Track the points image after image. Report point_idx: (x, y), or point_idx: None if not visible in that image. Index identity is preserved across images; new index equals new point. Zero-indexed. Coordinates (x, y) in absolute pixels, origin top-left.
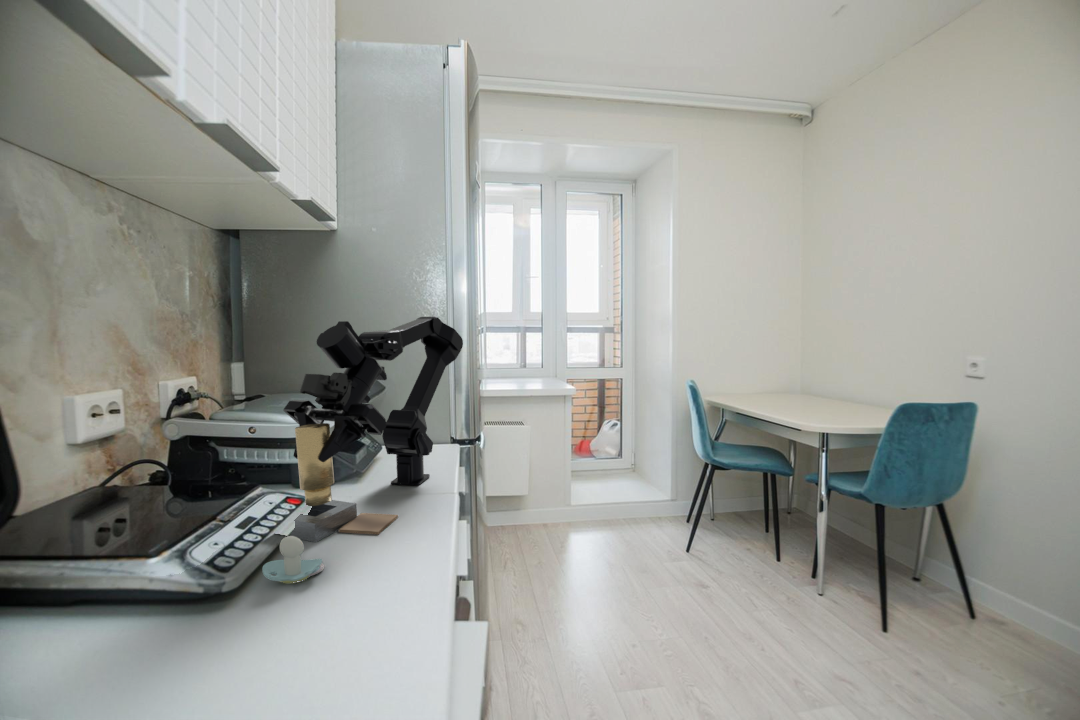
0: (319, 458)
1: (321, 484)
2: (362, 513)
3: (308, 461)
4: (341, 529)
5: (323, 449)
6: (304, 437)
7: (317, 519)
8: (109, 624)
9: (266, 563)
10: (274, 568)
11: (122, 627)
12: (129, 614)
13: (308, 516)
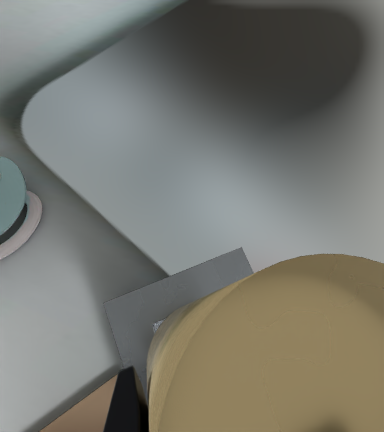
0: (125, 369)
1: (147, 358)
2: None
3: (174, 318)
4: (111, 378)
5: (131, 419)
6: (208, 302)
7: (125, 320)
8: (90, 27)
9: (17, 167)
10: (9, 182)
11: (67, 34)
12: (97, 43)
13: (168, 311)
